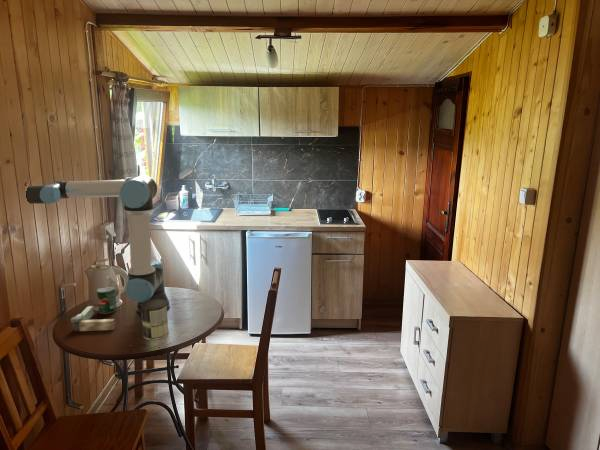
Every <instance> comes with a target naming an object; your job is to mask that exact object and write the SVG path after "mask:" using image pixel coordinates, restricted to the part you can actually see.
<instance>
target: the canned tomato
mask: <svg viewBox="0 0 600 450" xmlns="http://www.w3.org/2000/svg"><path fill="white" fill-rule="evenodd" d="M109 286H110V287H106V288H100V287H99V288H97V289H96V296H97V304H98V313H99V314H103V315H106V314H107V315H108V314H111V313H114V312H116V311H117V310H118V308H117V306H118V305H117V299H116V296H117V295H116V288H115V286H113V285H109Z"/></svg>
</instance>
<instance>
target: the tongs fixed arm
mask: <svg viewBox="0 0 600 450" xmlns="http://www.w3.org/2000/svg"><path fill="white" fill-rule="evenodd" d="M71 324H72V331H73V332H74V331H75V332H77V331H78V332H93V331H114V330H115V328H116V321H115V318H104V319H89V320H81V321H80V322H77V323H72V322H71Z"/></svg>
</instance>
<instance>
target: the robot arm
mask: <svg viewBox="0 0 600 450" xmlns="http://www.w3.org/2000/svg"><path fill="white" fill-rule="evenodd" d="M28 186H29V187H28V188H27V191H26V198H27V201H28V202H29V203H30V205H34V204H36V205H39V204H40V205H41V204H46V205H50V204H57V203H58V202H59V201H60V199H63V200H64V199H82V198H83V199H84V198H85V199H87V198H109V197H110V198H111V197H113V198H118V197H119V198H120V201H121V203H122V204H123V211H124V212H125V213H127V215H128V216H127V219H128V221H127V222H128V236H129V251H130V252H129V255H130V267H129V268H128V269H127V282H126V283H125V287H124V291H125V294H126V296H127V297H128V298H129V299H130V300H131V301H132V302H135V303H136V312H137V313H139V314H141V306H140V305H141V303H143V302H144V301H147V300H151V299H163V300H165V301H166V302H167V304H166V307H167V310H168V309H169V308H170V300H169V297H168V295H167V293H166V290H165V276H164V274H165V273H164V265H163V263H162V262H160V261H157V260H155V261H152V245H151V244H152V243H151V220H150V213H151V212H152V210H154V209H153V208H154V203H153V199H155V197H156V195H157V194H158V185H157V182H156V181H155V180H154V179H153V178H152V177H150V176H148V175H138V176H128V177H126V178H125V179H105V180H99V179H98V180H75V181H65V180H57V181H53V182H51V183H50V182H49V183H45V184H42V185H28Z"/></svg>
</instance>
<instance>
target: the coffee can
mask: <svg viewBox="0 0 600 450" xmlns="http://www.w3.org/2000/svg"><path fill="white" fill-rule="evenodd" d="M166 304H167V302H166V301H165V300H163V299H151V300H147V301H144V302H143V303H141V305H140V306H141V313H140V314H141V323H142V336H143V338H144V339H145V340H148V341H157V340H158V341H159V340H162V339H164V338H165V337H167V336H168V335H169V322H168V311H167V310H168V309H167V307H166Z"/></svg>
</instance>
